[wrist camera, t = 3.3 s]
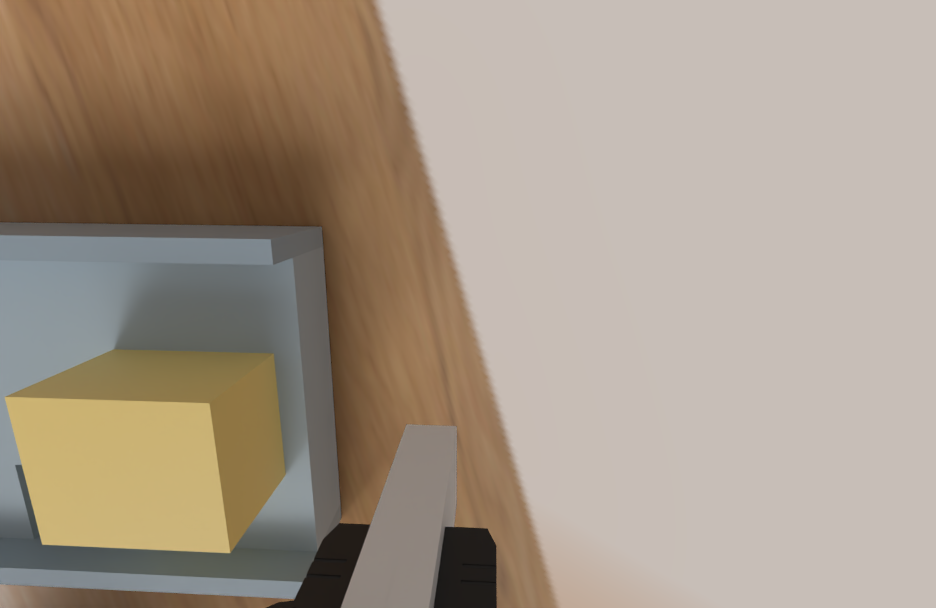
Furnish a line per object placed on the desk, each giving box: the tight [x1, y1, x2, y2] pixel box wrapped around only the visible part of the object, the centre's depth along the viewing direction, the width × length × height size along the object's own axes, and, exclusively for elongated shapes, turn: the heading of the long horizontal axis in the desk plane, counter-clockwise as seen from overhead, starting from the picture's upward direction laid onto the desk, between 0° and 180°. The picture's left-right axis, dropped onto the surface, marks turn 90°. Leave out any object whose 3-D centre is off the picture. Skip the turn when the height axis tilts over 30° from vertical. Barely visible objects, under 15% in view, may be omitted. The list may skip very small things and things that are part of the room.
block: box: [5, 349, 286, 553], centre depth 16 cm, size 5×6×4 cm
